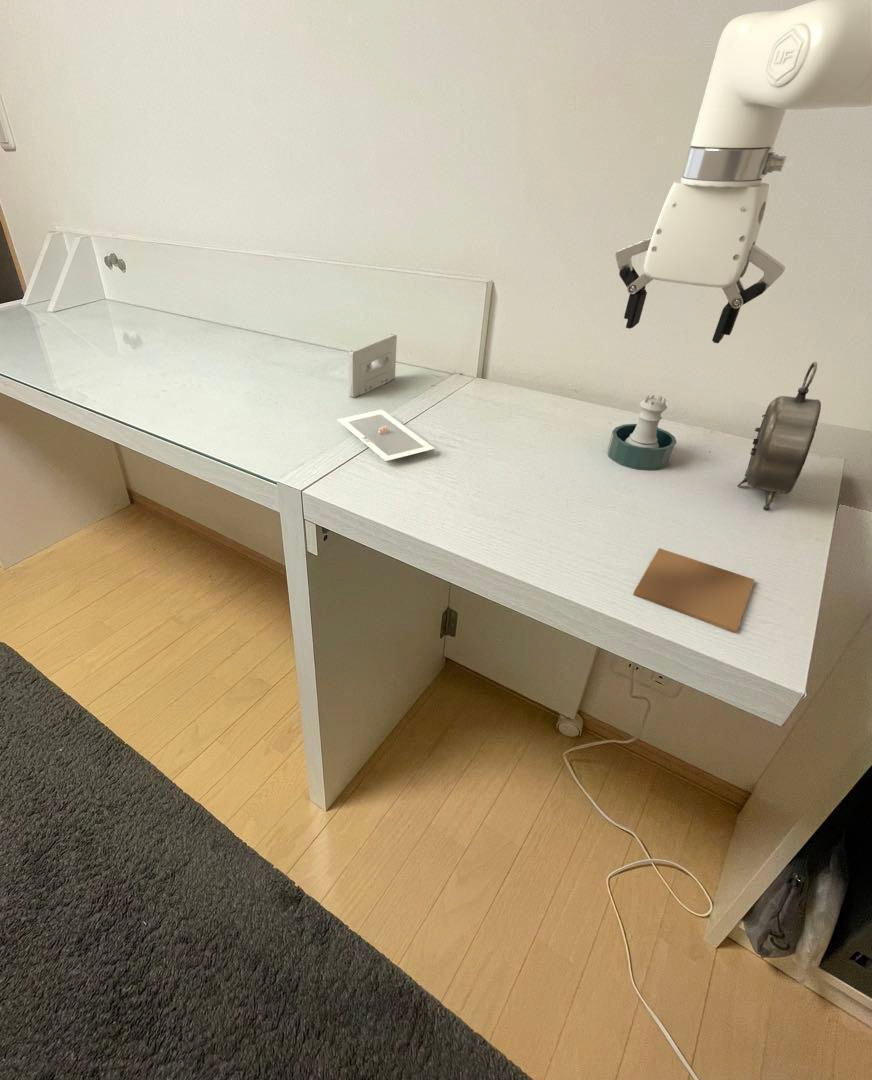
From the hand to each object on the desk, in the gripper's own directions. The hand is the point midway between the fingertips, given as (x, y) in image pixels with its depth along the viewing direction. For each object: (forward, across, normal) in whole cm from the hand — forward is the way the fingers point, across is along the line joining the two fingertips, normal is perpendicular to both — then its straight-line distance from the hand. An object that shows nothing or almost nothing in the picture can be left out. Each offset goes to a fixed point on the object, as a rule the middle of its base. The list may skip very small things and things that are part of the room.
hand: (673, 332), depth 74 cm
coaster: (+16, -13, +26) cm, 33 cm away
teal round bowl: (+17, 0, 0) cm, 17 cm away
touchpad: (+17, +31, +16) cm, 39 cm away
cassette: (+17, +44, 0) cm, 47 cm away
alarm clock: (+17, -15, +2) cm, 22 cm away
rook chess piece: (+16, 0, 0) cm, 17 cm away
